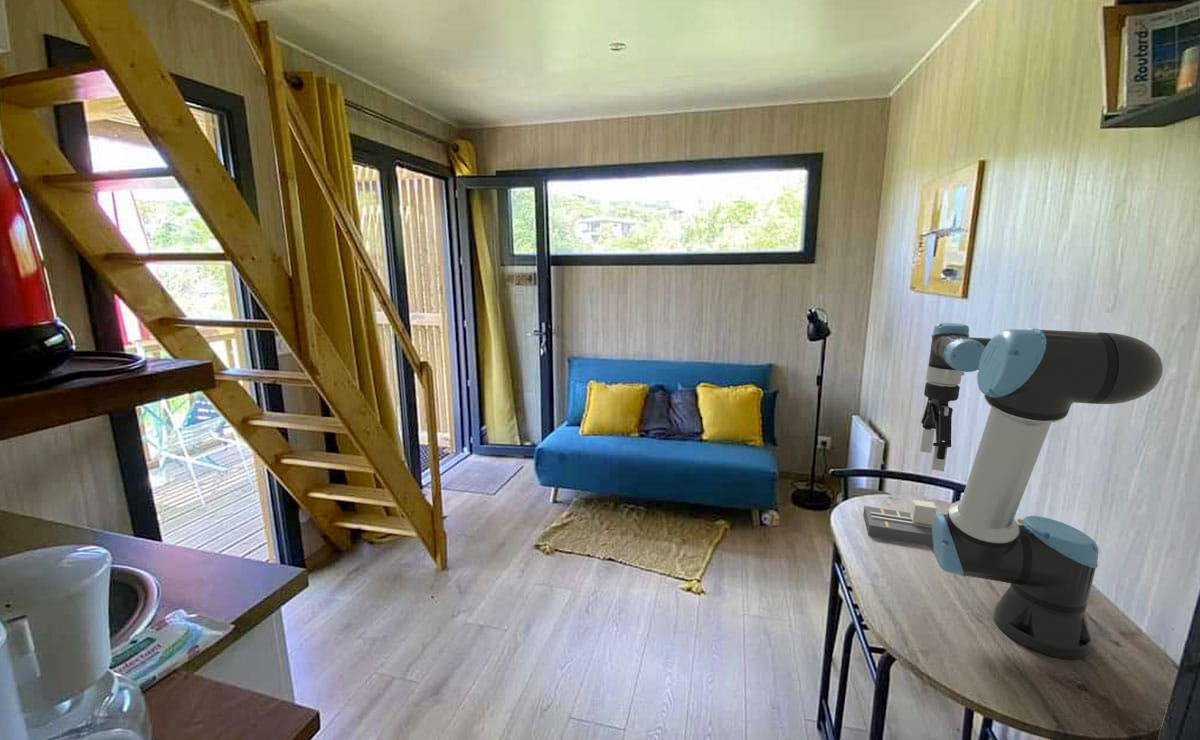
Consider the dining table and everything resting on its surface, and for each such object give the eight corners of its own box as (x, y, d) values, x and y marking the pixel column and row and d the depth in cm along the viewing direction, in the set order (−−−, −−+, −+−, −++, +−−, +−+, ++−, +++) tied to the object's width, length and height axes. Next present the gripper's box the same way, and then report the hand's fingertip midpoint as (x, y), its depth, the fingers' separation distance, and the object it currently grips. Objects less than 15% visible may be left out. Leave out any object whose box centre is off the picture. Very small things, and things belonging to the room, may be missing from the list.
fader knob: (933, 527, 142) (936, 508, 141) (912, 524, 144) (915, 505, 143) (930, 521, 146) (933, 502, 145) (909, 518, 147) (912, 499, 146)
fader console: (939, 547, 139) (941, 535, 138) (868, 535, 145) (869, 523, 144) (929, 525, 150) (931, 514, 149) (863, 515, 156) (864, 504, 155)
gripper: (974, 396, 124) (960, 480, 128) (946, 374, 147) (935, 446, 151) (938, 393, 126) (925, 476, 131) (916, 372, 149) (906, 443, 154)
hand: (931, 460), depth 141 cm, fingers open, 13 cm apart
